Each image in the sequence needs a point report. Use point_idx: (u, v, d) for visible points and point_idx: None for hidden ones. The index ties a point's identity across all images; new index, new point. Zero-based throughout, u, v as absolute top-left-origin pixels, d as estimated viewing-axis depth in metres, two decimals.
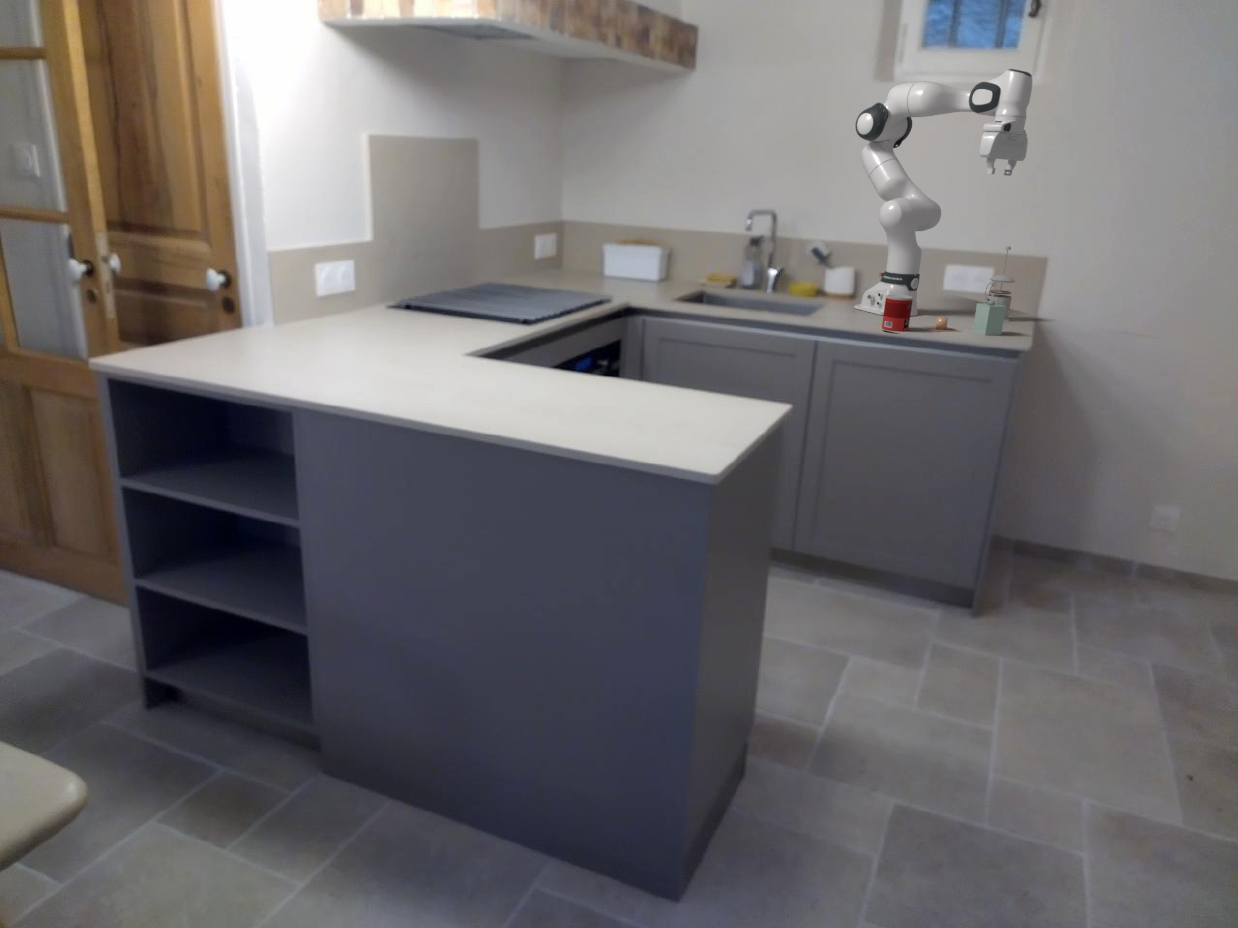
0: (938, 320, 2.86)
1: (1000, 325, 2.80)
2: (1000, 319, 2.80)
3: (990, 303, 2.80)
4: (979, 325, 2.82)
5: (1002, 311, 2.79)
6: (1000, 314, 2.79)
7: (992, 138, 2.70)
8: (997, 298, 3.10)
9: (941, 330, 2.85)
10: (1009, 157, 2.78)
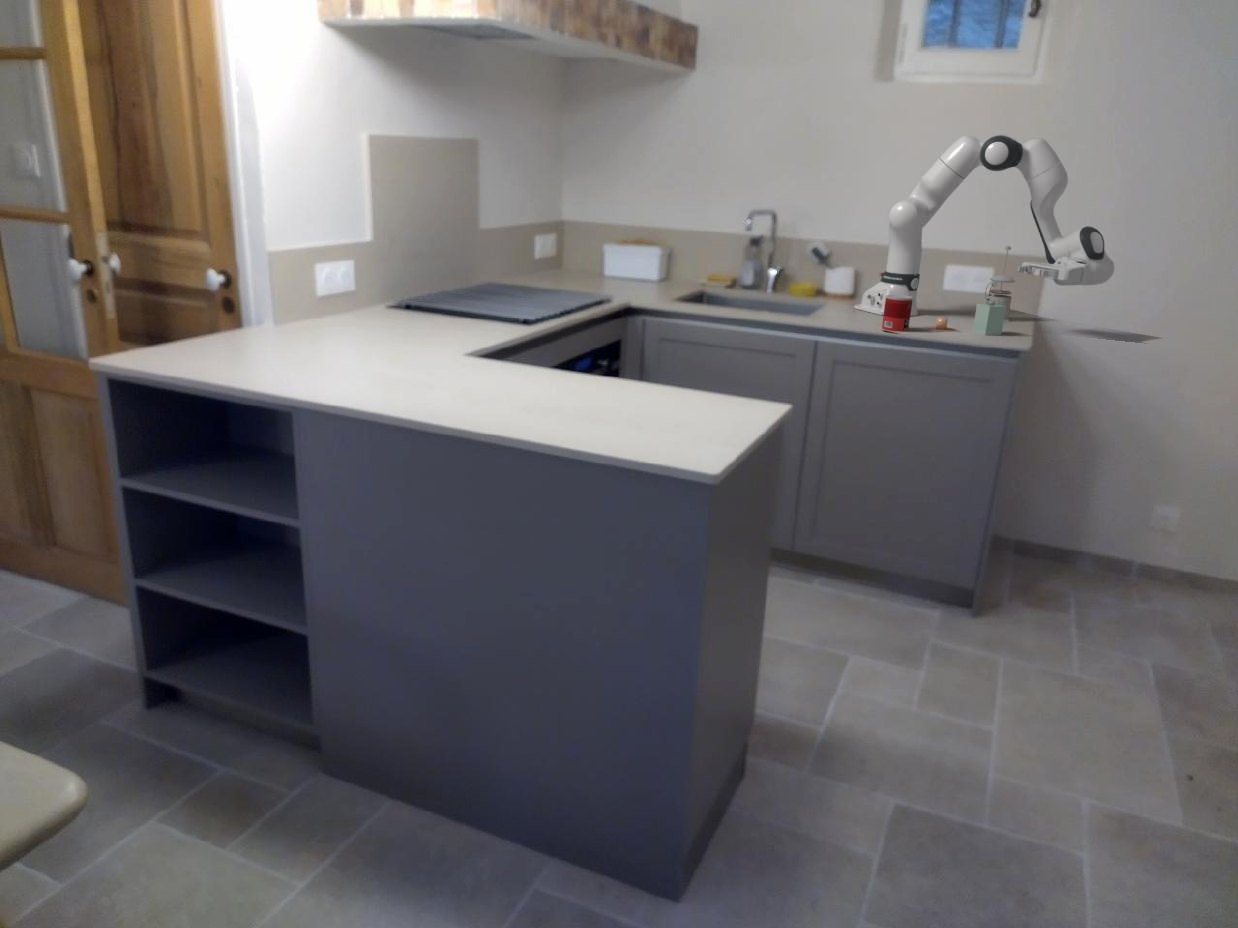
0: (938, 320, 2.86)
1: (1000, 325, 2.80)
2: (1000, 319, 2.80)
3: (990, 303, 2.80)
4: (979, 325, 2.82)
5: (1002, 311, 2.79)
6: (1000, 314, 2.79)
7: (1078, 279, 2.75)
8: (997, 298, 3.10)
9: (941, 330, 2.85)
10: (1040, 276, 2.84)
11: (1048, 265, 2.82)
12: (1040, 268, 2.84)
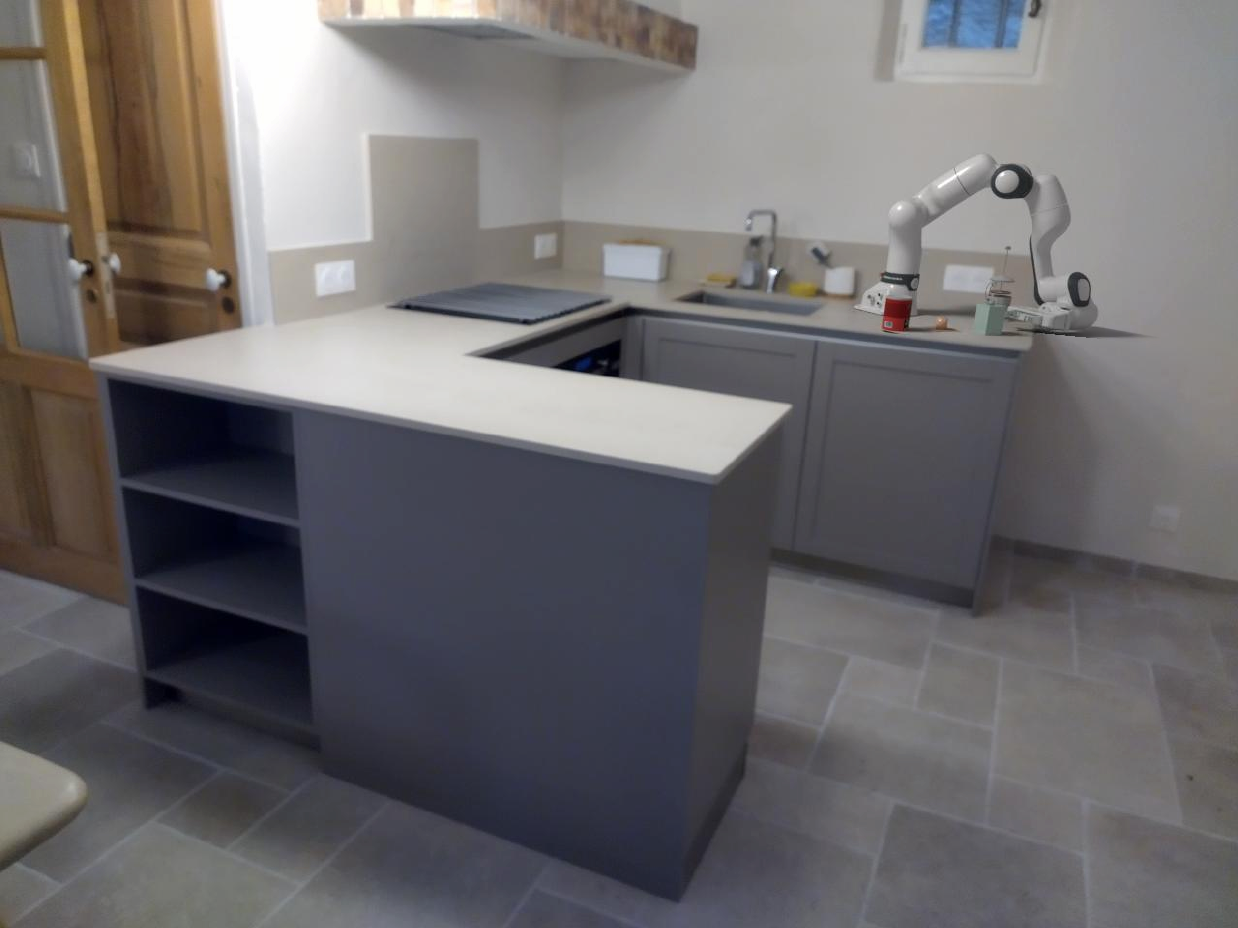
0: (938, 320, 2.86)
1: (1000, 325, 2.80)
2: (1000, 319, 2.80)
3: (990, 303, 2.80)
4: (979, 325, 2.82)
5: (1002, 311, 2.79)
6: (1000, 314, 2.79)
7: (1062, 326, 2.79)
8: (997, 298, 3.10)
9: (941, 330, 2.85)
10: None
11: (1033, 310, 2.86)
12: (1025, 313, 2.88)
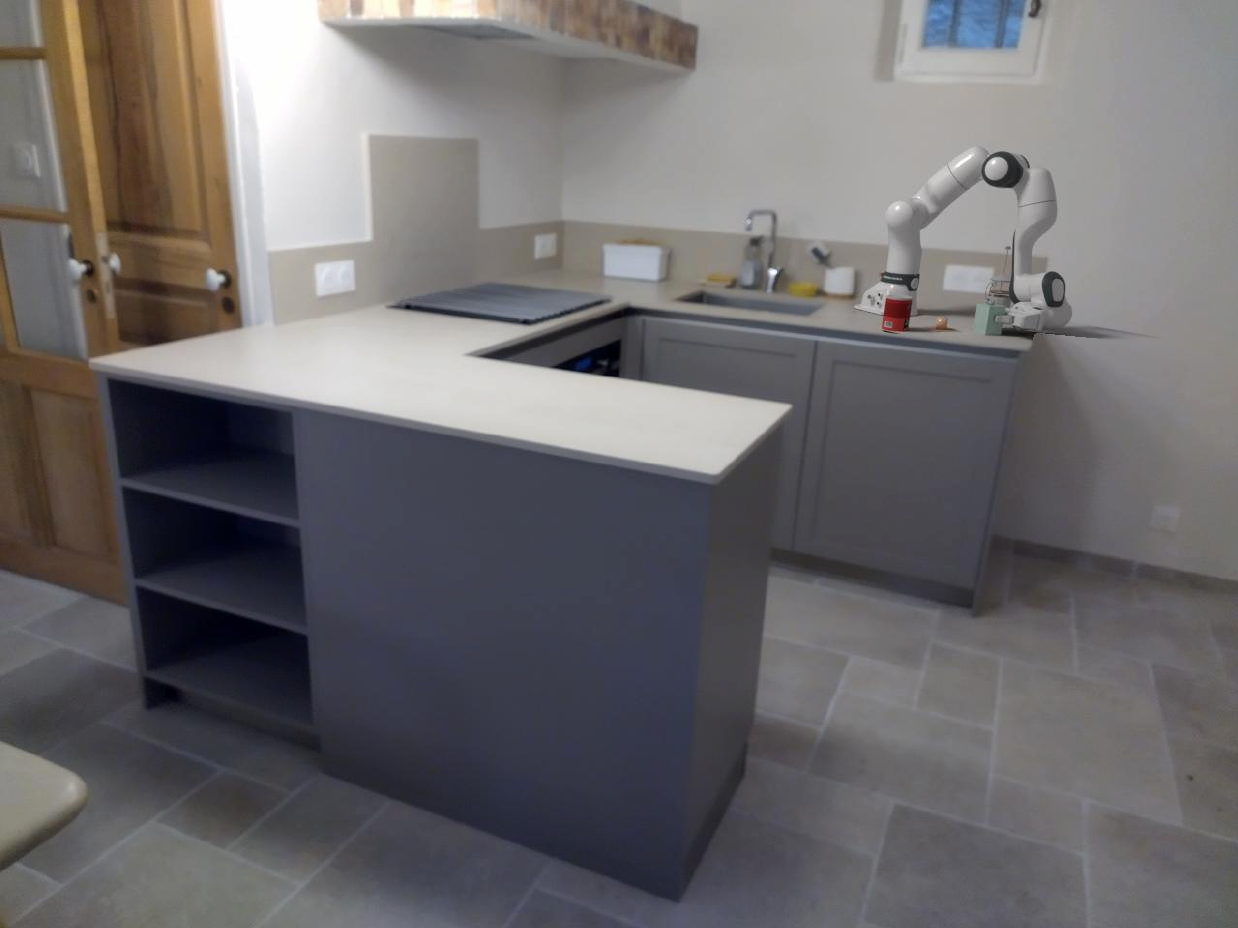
0: (938, 320, 2.86)
1: (1000, 325, 2.80)
2: None
3: (990, 303, 2.80)
4: (979, 325, 2.82)
5: (1002, 311, 2.79)
6: (1000, 314, 2.79)
7: (1034, 326, 2.76)
8: (997, 298, 3.10)
9: (941, 330, 2.85)
10: None
11: (1005, 310, 2.82)
12: None
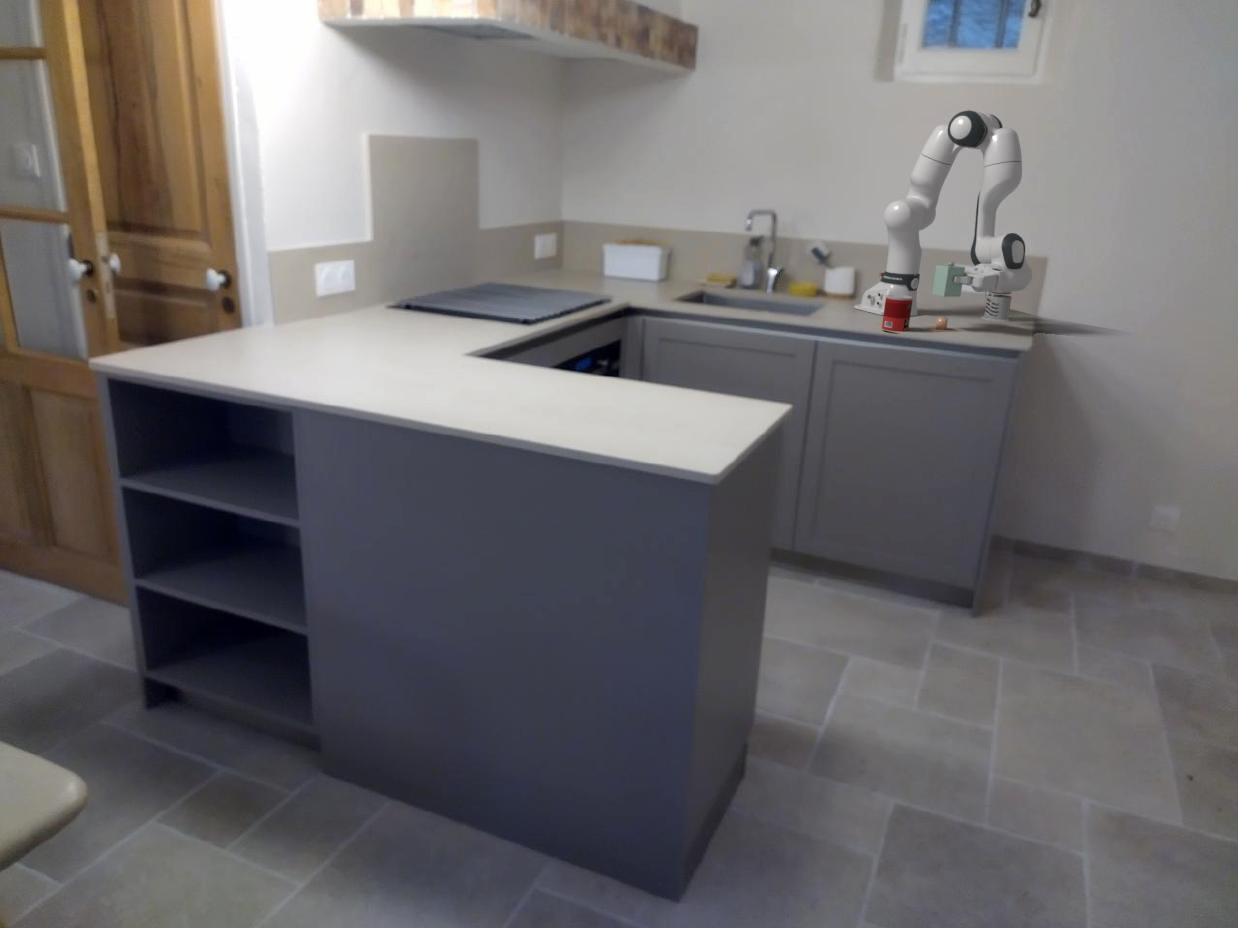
0: (938, 320, 2.86)
1: (959, 286, 2.81)
2: None
3: (949, 264, 2.80)
4: (938, 286, 2.82)
5: (961, 272, 2.79)
6: (959, 275, 2.80)
7: (993, 286, 2.77)
8: (997, 298, 3.10)
9: (941, 330, 2.85)
10: None
11: (965, 272, 2.83)
12: None
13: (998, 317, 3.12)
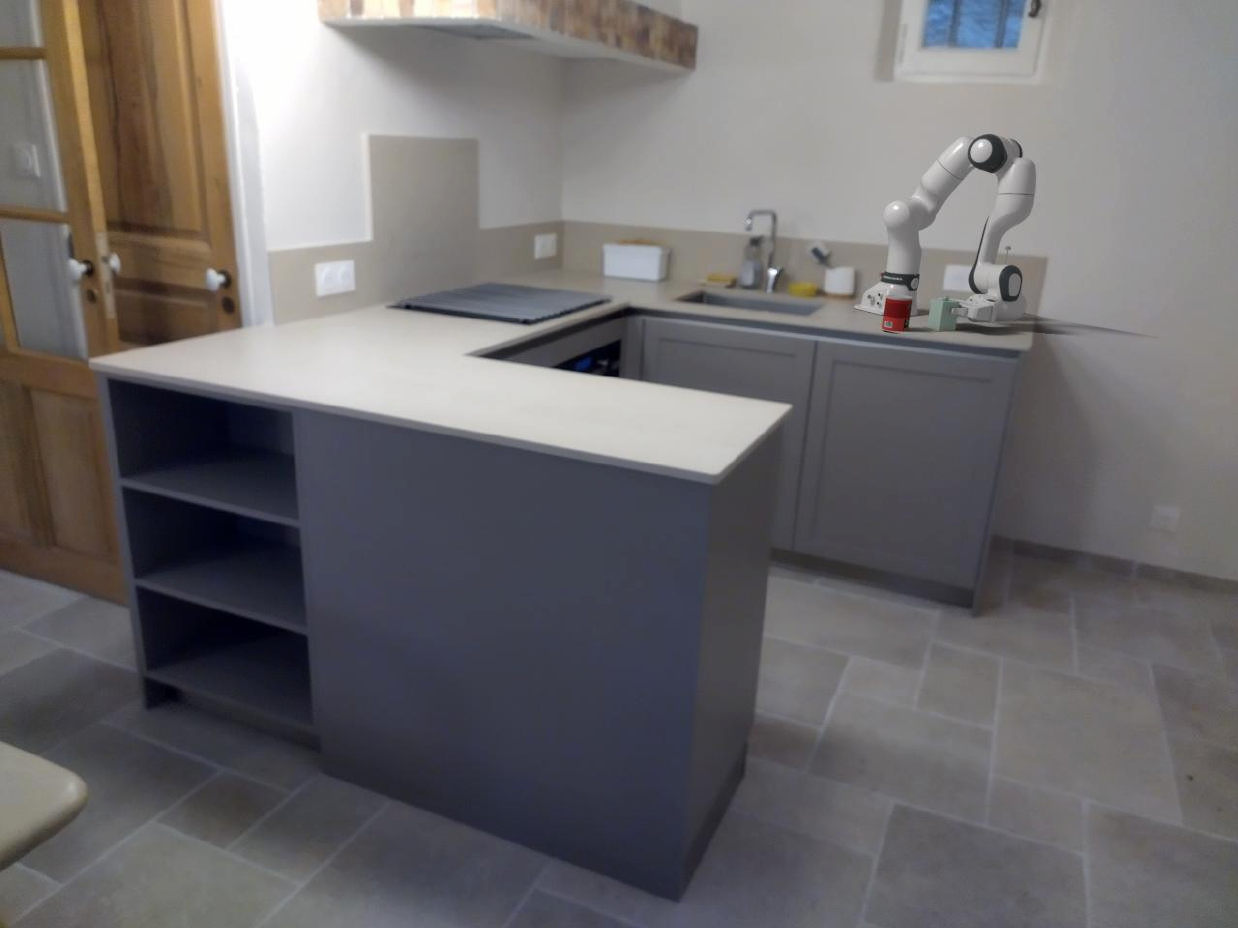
0: None
1: (954, 320, 2.84)
2: (954, 314, 2.83)
3: (944, 298, 2.84)
4: (933, 320, 2.86)
5: (955, 307, 2.83)
6: None
7: (987, 317, 2.80)
8: None
9: None
10: None
11: (960, 302, 2.86)
12: None
13: None
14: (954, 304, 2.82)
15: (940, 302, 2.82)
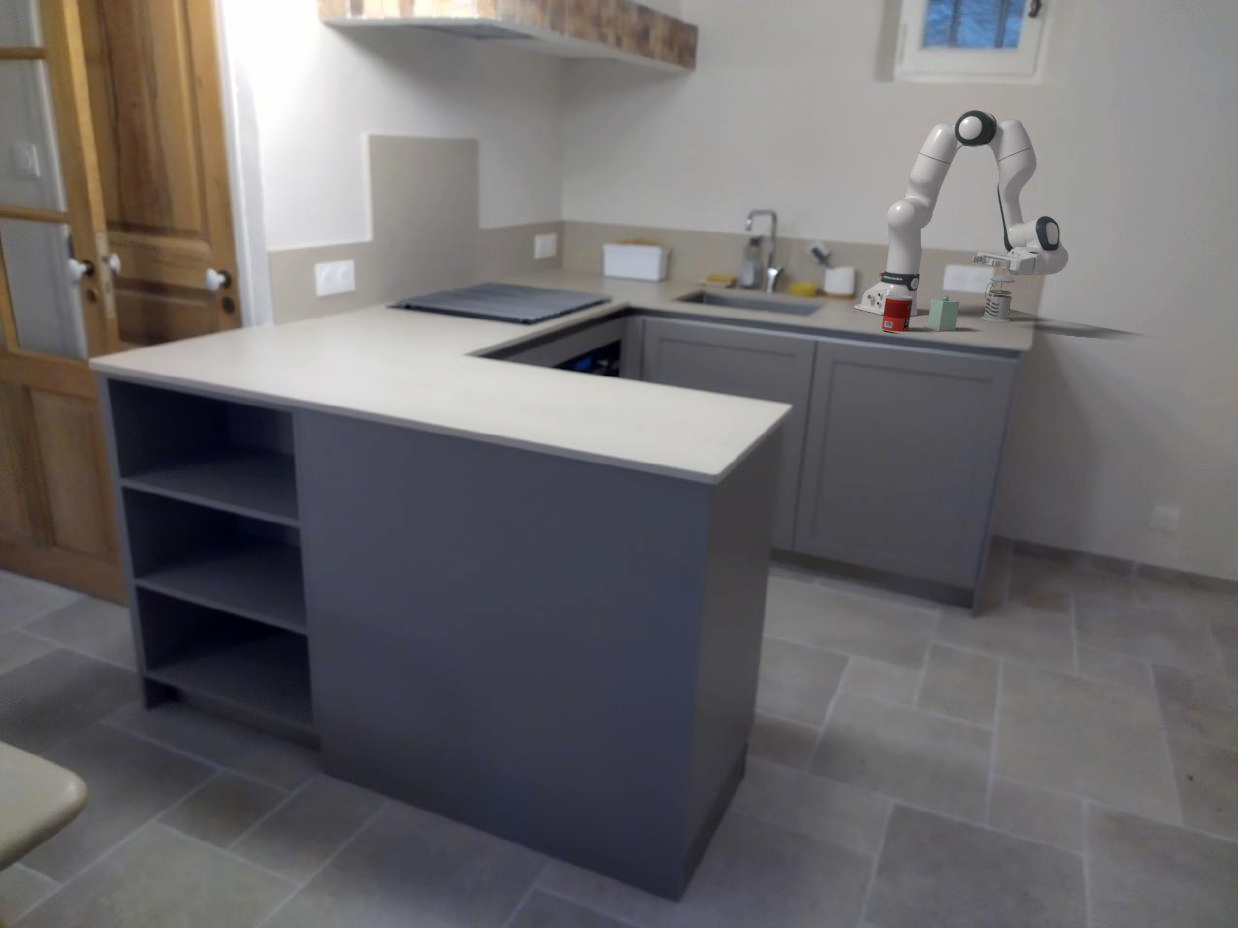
0: None
1: (954, 320, 2.84)
2: (954, 314, 2.83)
3: (944, 298, 2.84)
4: (933, 320, 2.86)
5: (955, 307, 2.83)
6: (953, 310, 2.83)
7: (1030, 270, 2.79)
8: (997, 298, 3.10)
9: None
10: None
11: (1001, 255, 2.85)
12: (994, 258, 2.87)
13: (998, 317, 3.12)
14: (954, 304, 2.82)
15: (940, 302, 2.82)
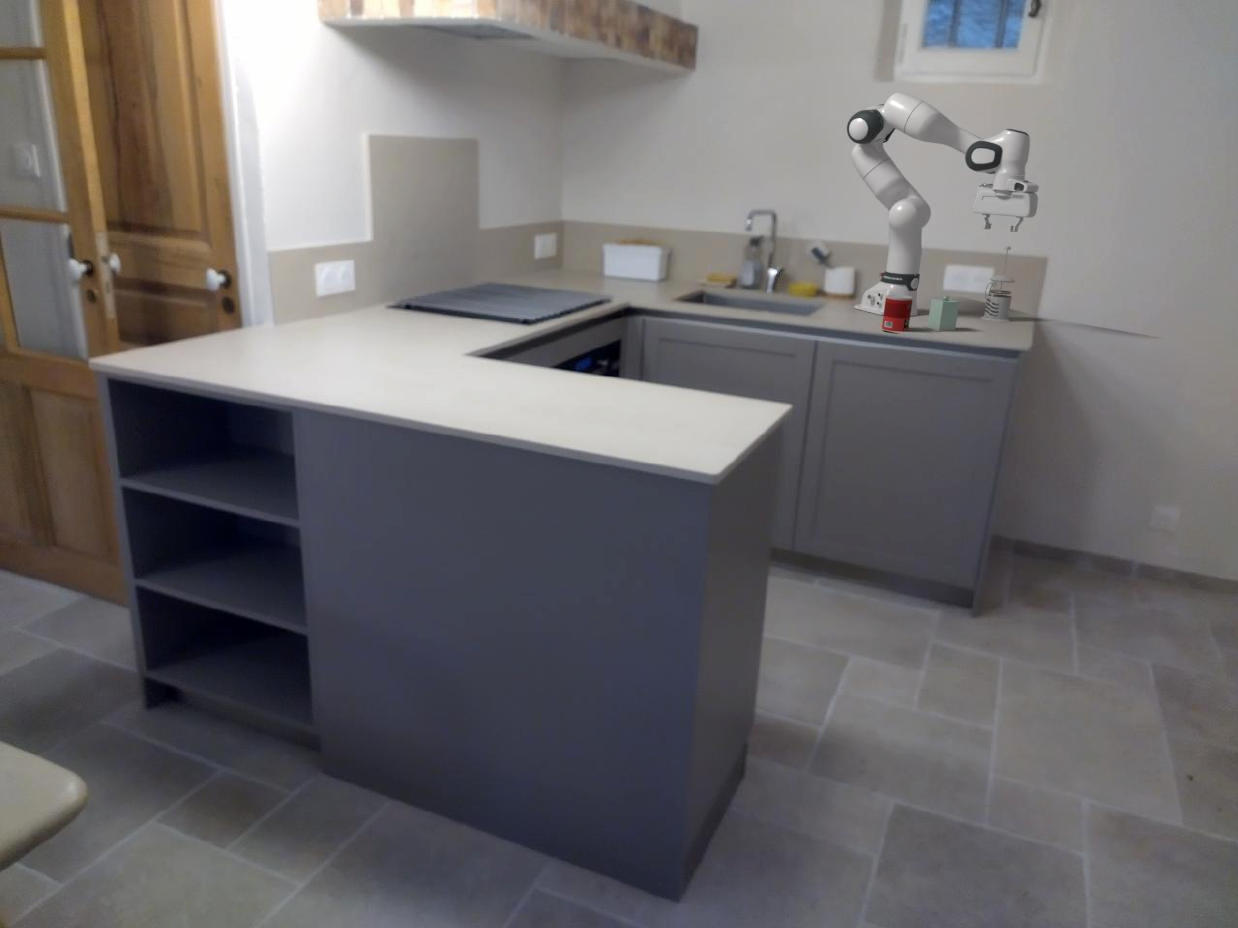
0: None
1: (954, 320, 2.84)
2: (954, 314, 2.83)
3: (944, 298, 2.84)
4: (933, 320, 2.86)
5: (955, 307, 2.83)
6: (953, 310, 2.83)
7: (1036, 199, 2.77)
8: (997, 298, 3.10)
9: None
10: None
11: (1001, 210, 2.84)
12: None
13: (998, 317, 3.12)
14: (954, 304, 2.82)
15: (940, 302, 2.82)
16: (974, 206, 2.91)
